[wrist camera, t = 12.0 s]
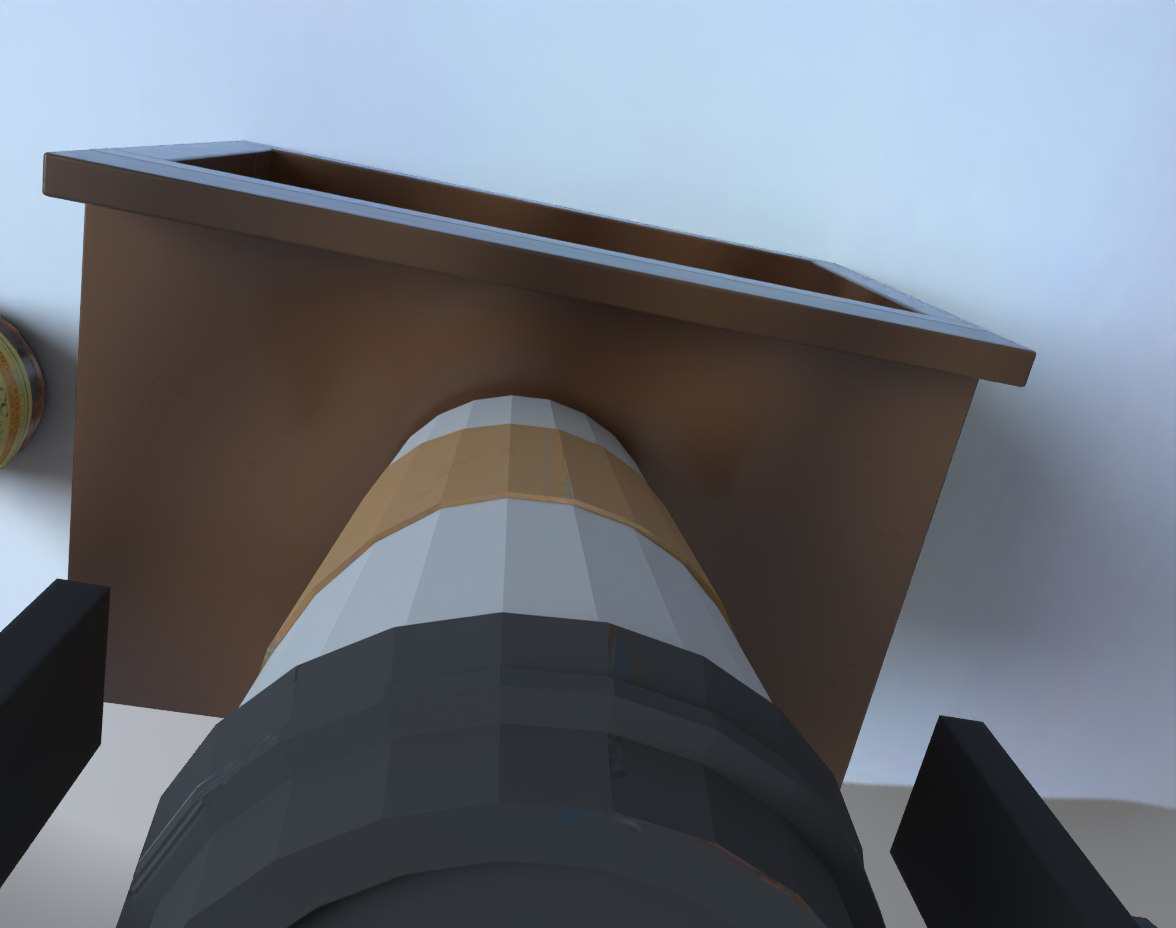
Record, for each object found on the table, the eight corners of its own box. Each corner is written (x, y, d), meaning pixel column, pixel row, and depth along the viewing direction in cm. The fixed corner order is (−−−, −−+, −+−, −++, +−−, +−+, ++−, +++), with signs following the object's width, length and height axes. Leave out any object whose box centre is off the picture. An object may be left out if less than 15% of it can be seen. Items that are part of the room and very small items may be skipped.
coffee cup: (577, 725, 25) (650, 1489, 11) (274, 582, 23) (-100, 1279, 9) (756, 455, 23) (1126, 973, 9) (439, 276, 21) (283, 573, 7)
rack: (836, 263, 34) (1038, 352, 21) (741, 599, 38) (861, 853, 25) (242, 139, 31) (41, 151, 18) (207, 513, 35) (22, 745, 22)
